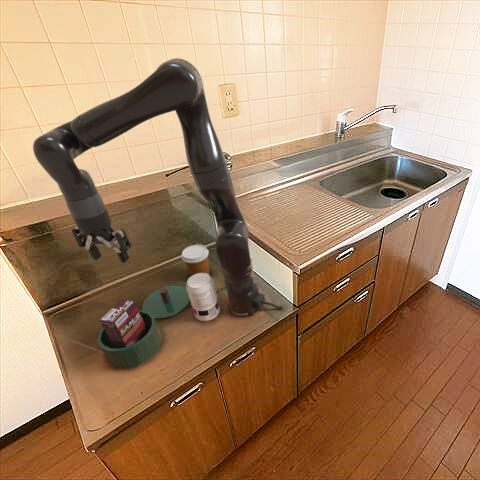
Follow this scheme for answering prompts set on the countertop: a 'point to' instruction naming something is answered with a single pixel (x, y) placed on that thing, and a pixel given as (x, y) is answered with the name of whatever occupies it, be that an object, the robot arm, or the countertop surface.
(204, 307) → the supplement can
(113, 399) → the countertop surface
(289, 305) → the countertop surface
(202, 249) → the disposable coffee cup
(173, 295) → the lid
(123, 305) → the supplement box
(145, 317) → the pot
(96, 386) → the countertop surface
